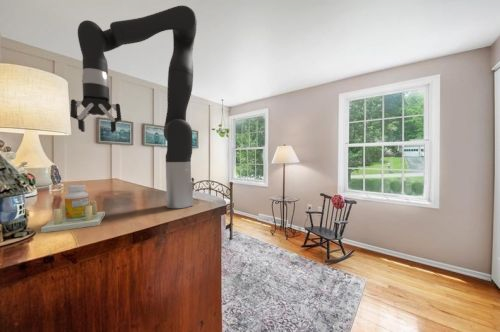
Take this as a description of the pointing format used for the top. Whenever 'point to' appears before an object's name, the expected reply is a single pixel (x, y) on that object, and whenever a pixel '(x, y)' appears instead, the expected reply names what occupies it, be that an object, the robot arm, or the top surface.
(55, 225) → the standoff chassis
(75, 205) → the supplement bottle
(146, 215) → the top surface
